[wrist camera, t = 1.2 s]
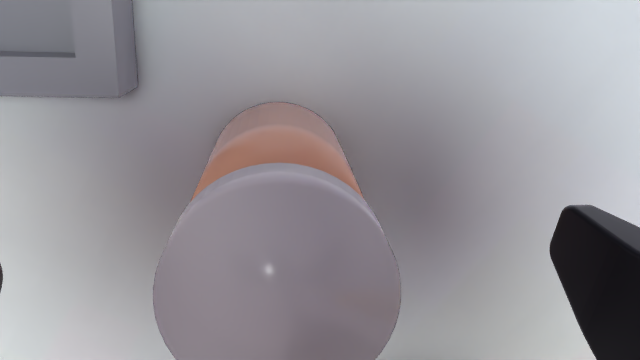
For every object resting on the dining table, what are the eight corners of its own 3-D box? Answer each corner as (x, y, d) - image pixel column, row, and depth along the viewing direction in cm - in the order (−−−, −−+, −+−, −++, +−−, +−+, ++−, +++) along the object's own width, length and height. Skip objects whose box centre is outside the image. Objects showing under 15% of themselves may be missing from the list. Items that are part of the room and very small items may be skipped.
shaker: (343, 230, 22) (393, 400, 13) (211, 231, 22) (160, 407, 12) (349, 100, 21) (409, 183, 11) (206, 98, 20) (144, 183, 11)
